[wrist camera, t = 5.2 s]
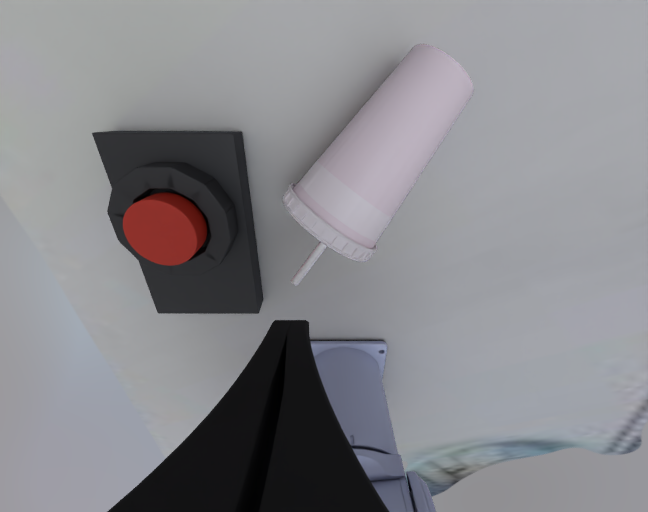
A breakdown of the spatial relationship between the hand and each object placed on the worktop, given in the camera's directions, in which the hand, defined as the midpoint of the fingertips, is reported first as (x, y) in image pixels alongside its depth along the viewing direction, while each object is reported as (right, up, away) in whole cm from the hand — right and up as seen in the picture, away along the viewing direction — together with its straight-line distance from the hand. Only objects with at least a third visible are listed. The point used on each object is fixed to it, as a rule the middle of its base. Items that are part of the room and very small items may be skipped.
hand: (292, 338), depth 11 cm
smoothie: (+7, +12, +2) cm, 15 cm away
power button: (-8, +5, +5) cm, 11 cm away
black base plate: (-8, +5, +9) cm, 13 cm away
